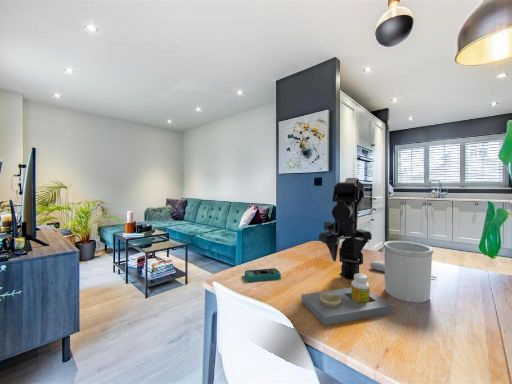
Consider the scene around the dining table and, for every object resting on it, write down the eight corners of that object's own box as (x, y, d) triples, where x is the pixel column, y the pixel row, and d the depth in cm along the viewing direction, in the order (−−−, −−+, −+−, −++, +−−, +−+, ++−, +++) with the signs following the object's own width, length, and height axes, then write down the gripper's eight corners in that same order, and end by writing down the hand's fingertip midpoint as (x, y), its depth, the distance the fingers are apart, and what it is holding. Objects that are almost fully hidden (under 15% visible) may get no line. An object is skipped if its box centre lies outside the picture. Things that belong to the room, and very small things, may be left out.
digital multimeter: (282, 279, 100) (282, 272, 99) (247, 283, 96) (247, 276, 96) (276, 273, 107) (276, 267, 107) (244, 276, 103) (244, 269, 103)
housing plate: (361, 292, 87) (361, 281, 87) (393, 313, 73) (393, 300, 73) (301, 301, 80) (301, 290, 80) (324, 326, 67) (324, 312, 67)
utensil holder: (419, 308, 76) (420, 254, 75) (374, 290, 89) (375, 243, 88) (439, 296, 84) (441, 247, 83) (395, 281, 96) (396, 238, 96)
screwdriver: (437, 285, 97) (438, 276, 96) (369, 271, 109) (369, 262, 108) (435, 278, 101) (436, 270, 100) (370, 265, 113) (370, 257, 112)
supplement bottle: (360, 310, 75) (361, 280, 75) (347, 302, 80) (348, 274, 79) (373, 307, 77) (373, 277, 77) (359, 299, 82) (360, 271, 82)
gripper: (352, 212, 97) (351, 250, 97) (311, 215, 91) (311, 255, 92) (373, 216, 86) (372, 259, 87) (328, 220, 80) (327, 265, 81)
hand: (345, 259), depth 87 cm, fingers open, 9 cm apart
